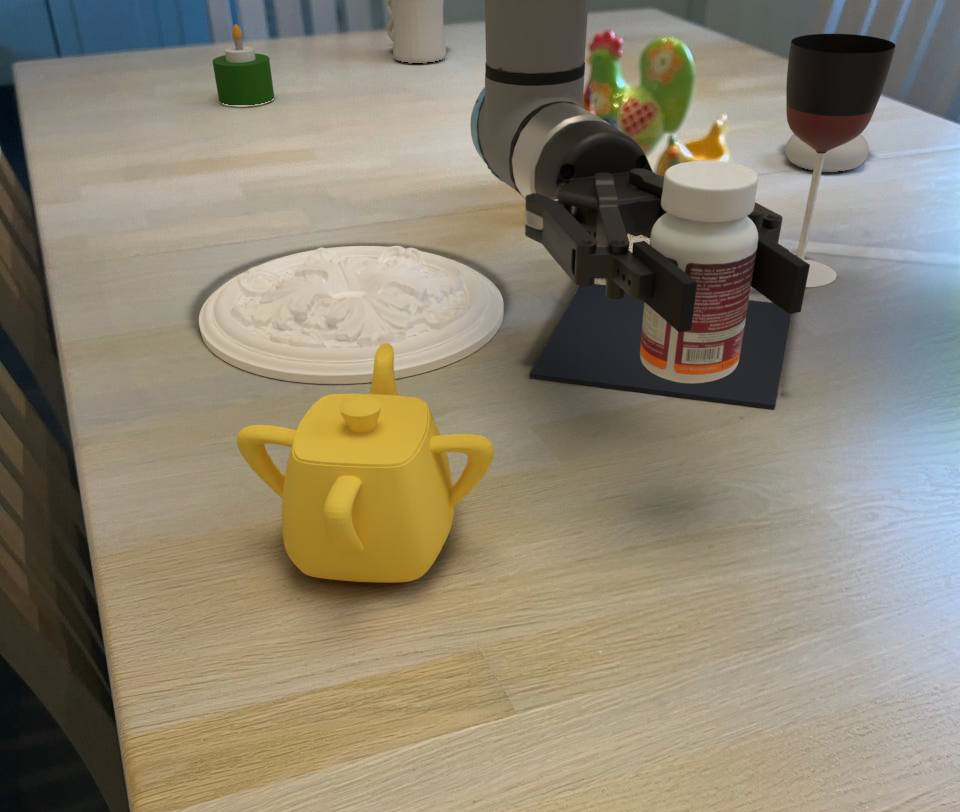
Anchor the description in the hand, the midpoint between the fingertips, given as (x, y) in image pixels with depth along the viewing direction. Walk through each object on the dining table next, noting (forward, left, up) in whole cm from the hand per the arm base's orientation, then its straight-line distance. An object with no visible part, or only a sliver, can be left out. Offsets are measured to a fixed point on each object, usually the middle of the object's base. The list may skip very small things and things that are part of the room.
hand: (744, 298), depth 56 cm
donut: (-4, -85, -17) cm, 87 cm away
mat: (+7, -29, -16) cm, 34 cm away
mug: (+66, -128, -17) cm, 145 cm away
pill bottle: (+3, -4, -6) cm, 8 cm away
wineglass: (-3, -48, -17) cm, 51 cm away
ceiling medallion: (+36, -27, -17) cm, 48 cm away
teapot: (+21, +6, -17) cm, 27 cm away
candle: (+81, -95, -17) cm, 126 cm away
